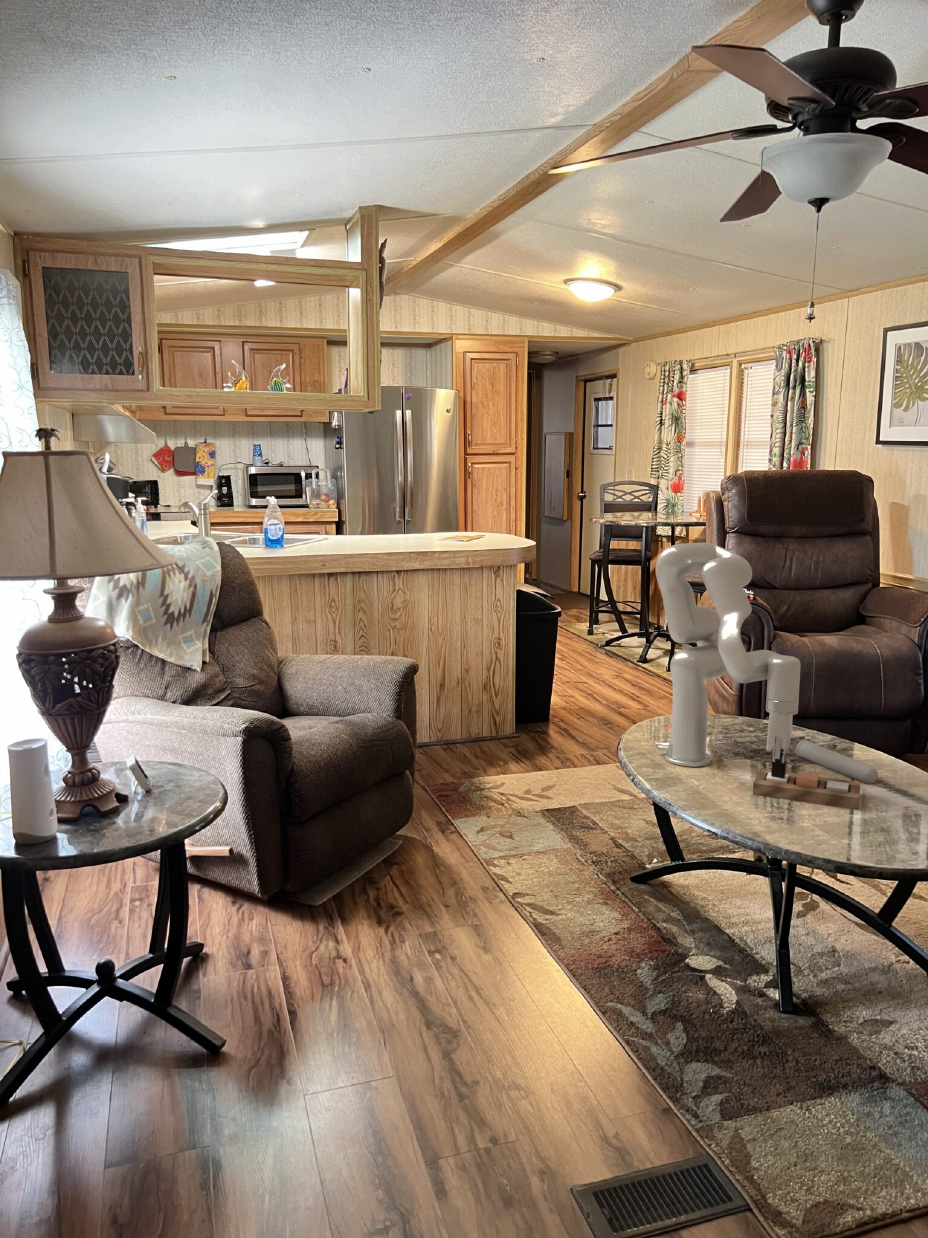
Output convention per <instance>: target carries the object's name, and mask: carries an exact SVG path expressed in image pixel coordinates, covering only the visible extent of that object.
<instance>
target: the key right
mask: <svg viewBox="0 0 928 1238" xmlns="http://www.w3.org/2000/svg"><path fill="white" fill-rule="evenodd" d="M848 786H849V783H844V782H837V781H829V780H828V782H827V786H826V789H829V790H836V791H843V792H848Z"/></svg>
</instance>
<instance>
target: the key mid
mask: <svg viewBox="0 0 928 1238" xmlns="http://www.w3.org/2000/svg"><path fill="white" fill-rule="evenodd" d="M796 773H797V777H796V785H800V786H807V787H814V788H817V787H818V776H819V775H820V774H819V773H814V772H805V771H799V770H798V771H797V772H796ZM819 777H820V776H819Z"/></svg>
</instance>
